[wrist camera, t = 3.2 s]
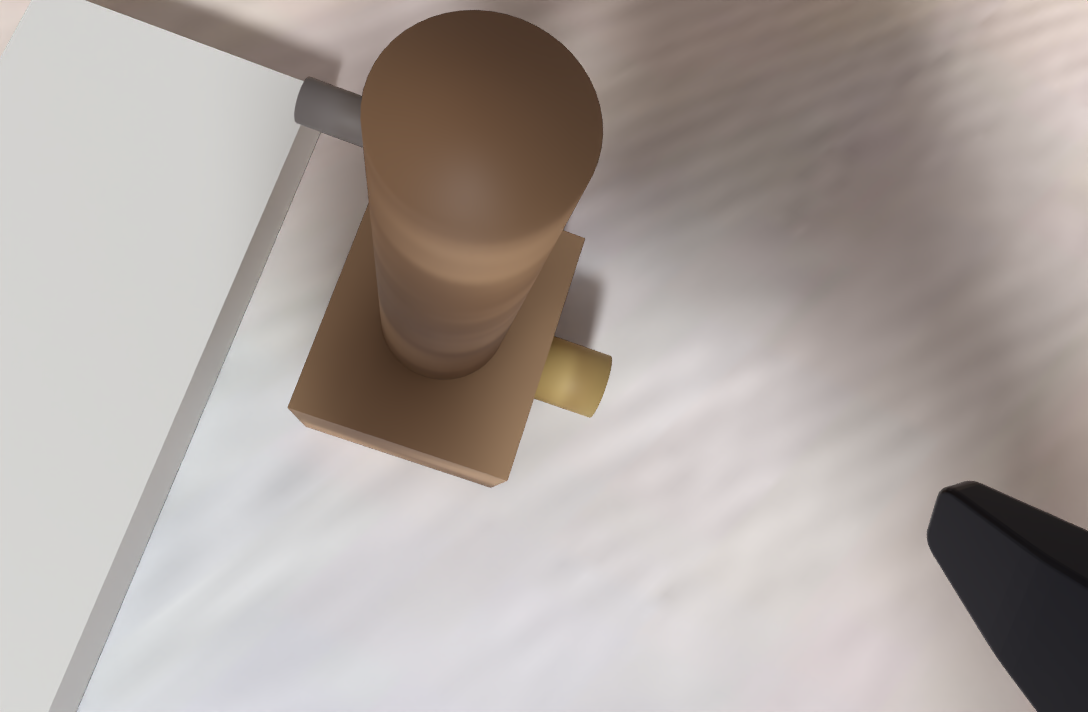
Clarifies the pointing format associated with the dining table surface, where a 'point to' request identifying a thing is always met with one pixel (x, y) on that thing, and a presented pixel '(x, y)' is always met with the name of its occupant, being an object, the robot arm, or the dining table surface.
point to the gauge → (457, 246)
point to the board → (115, 303)
